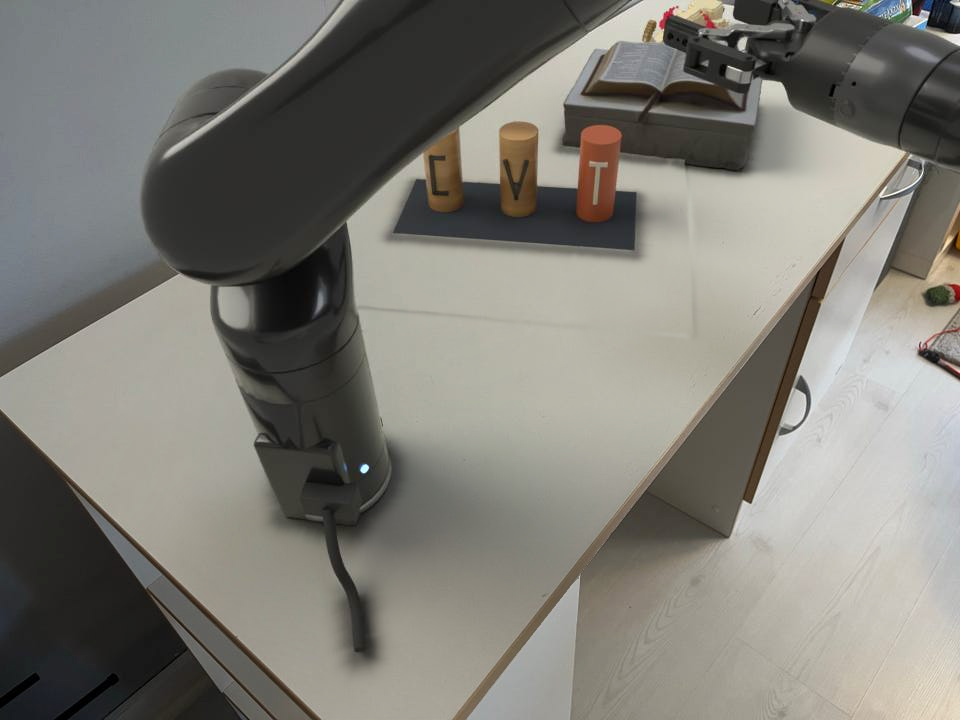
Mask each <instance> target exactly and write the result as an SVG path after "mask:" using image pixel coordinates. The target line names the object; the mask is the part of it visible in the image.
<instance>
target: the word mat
mask: <svg viewBox="0 0 960 720" xmlns="http://www.w3.org/2000/svg"><path fill="white" fill-rule="evenodd" d="M577 189H578V188H574V187H559V186H542V185H541V186H540V185H537V208H536V210H535V212H534V213H532V214H531V215H528V216H525V217H512V216H508V215H506V214H504V213H503V212H502V210H501V206H500V183H491V182H490V183H489V182H474V181H463V193H464V204H463V205H462V207H460V208H459V209H457V210H455V211H452V212H438V211H435V210H433V209H431V208H430V206H429V204H428V195H427V186H426V178H425V179H424V178H422V179H421V178H416V179H415V181H414V183H413V186H412V188H411V189H410V193H409V195H408V197H407V199H406V202H405V204H404V206H403V208H402V210H401V212H400V214H399V218H398V220H397V222H396V225H395V226H394V229H393V232H392V234H400V235H413V236H414V235H415V236H428V237H429V236H430V237H443V238H458V239H469V240H470V239H471V240H483V241H498V242H511V243H512V242H513V243H526V244H538V245H539V244H541V245H554V246H568V247H569V246H570V247H582V248H583V247H584V248H594V249H595V248H596V249H611V250H623V251H624V250H625V251H635V241H636V220H637V219H636V216H637V214H636V213H637V191H624V190H616V192H615V201H614V210H613V215H612V217H611V218H610V219H608V220H606V221H603V222H588V221H585V220H583V219H581V218H580V217H578V215H577V213H576V204H577Z"/></svg>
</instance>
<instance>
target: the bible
mask: <svg viewBox="0 0 960 720" xmlns="http://www.w3.org/2000/svg"><path fill="white" fill-rule="evenodd" d="M715 42H716V43H719V44H722V45H725V46H728V44H727V42H719V41H715ZM737 50H739V51H740V49H739V46H737ZM685 57H686V53H684V52H682V51H679V50H677V49H675V48H674V49H673V48H672V47H670V46H667V45H665V44H664V43H660V42H643V41H637V42H636V41H626V40H619V41H617V42H615V43H614V44H613V45H611V46H610V48H609V49H601V48H594V49H593V51H592V53H591V54H590V56H589V58H588V59H587V61H586V63H585V65H584V67H583V68H582V71H581V72H580V74H579V76H578V78H577V79H576V81H575V82H574V85H573V86H572V88H571V90H570V91H569V93H568V94H567V96H566V98H565V100H564V101H563V104H562V106H563V109H564V110H563V117H564V130H565V131H564V133H563V136H562V143H561V145H562V146H564V147H572V148H580V145H581V133H582V131H583V130H584V129H585V128H587V127H590V126H594V125H607V126H611V127H614V128H616V129H618V130H619V131H620V132H621V134H622V138H621V147H620V154H621V153H622V154H623V153H624V154H629V155H638V156H645V157H657V158H660V159H671V160H672V159H673V160H684V164H685V165H692V166H697V167H698V166H699V167H707V168H717V169H721V168H723V169H726V170H732V171H740V169H742V168H744V167H745V166H746V162H747V158H748V153H749V148H750V145H751V143H752V140H753V136H754V132H755V131H754V130H755V128H756V126H757V121H758V114H759V113H758V112H759V110H760V109H759V108H760V102H761V101H760V100H761V93H762V84H763V80H761V79H760V78H759V77H758V78H756V79H754V80H752V82H751V85H750V90H749V92H748V93H744V94H741V93H736V92H733V91H731V90H728V89H726V88H723V87H721V86H718V85H716V84H713V83H711V82H708V81H706V80H703V79H700V78H698V77H695V76H693V75H690V74H688V73H685V72H684V71H683V67H684V63H685ZM705 66H707V65H705ZM707 67H708V66H707Z"/></svg>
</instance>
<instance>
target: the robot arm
mask: <svg viewBox="0 0 960 720" xmlns="http://www.w3.org/2000/svg"><path fill="white" fill-rule="evenodd" d="M632 1H633V0H338V1H337V3H336V4H335V5H334V7H333V8H332V10H331V11H330V12H329V14H327V16H326V17H325V18H324V20H323V21H322V22H321V23H320V24H319V26H318V27H317V28H316V29H315V30H314V32H313V33H312V34H311V35H310V36H309V37H308V38H307V39H306V40H305V41H304V42H303V43H302V44H301V45H300V46H299V47H298V49H297V50H296V51H294V52H293V53H292V54H291V55H290V56H288V57H287V58H286V59H285V60H284V61H282V63H281V64H280V65H279V66H278V67H277V68H275V69H274V70H272V71H271V72H270V73H268V72H265V71H261V70H258V69H253V68H243V67H239V68H238V67H237V68H235V67H234V68H225V69H222V70H217V71H216V70H215V71H213V72H210V73H208V74H206V75H204V76H203V77H201V78H199V79H198V80H196V81H195V82H194V83H192V85H190V86H189V87H188V88H187V89H186V90H185V91H184V92H183V93H182V95H181V96H180V97H179V99H178V100H177V102H176V104H174V105H175V106H174V108H173V109H172V111H171V112H170V115H169V116H168V118H167V120H166V122H165V124H164V126H163V127H162V129H161V131H160V133H159V135H158V137H157V139H156V140H155V143H154V144H153V146H152V148H151V151H150V153H149V155H148V157H147V159H146V162H145V164H144V166H143V171H142V176H141V181H140V189H139V211H140V218H141V222H142V226H143V230H144V232H145V234H146V237H147V239H148V241H149V243H150V245H151V247H152V248H153V249H154V251H155V252H156V254H157V255H158V256H159V257H160V259H161V260H162V261H163V262H164V263H165V264H166V265H167V266H168V267H169V268H171V269H172V270H173V271H174V272H177V273H178V274H179V275H181V276H183V277H185V278H187V279H188V280H189V279H190V280H192V281H195V282H198V283H201V284H204V285H209V286H210V287H209V289H210V294H209V295H210V296H209V302H210V303H209V307H210V309H209V310H210V311H209V312H210V316H211V317H210V318H211V322H212V325H213V328H214V331H215V333H216V337H217V338H218V341H219V344H220V346H221V348H222V352H223V354H224V356H225V358H226V360H227V363H228V365H229V367H230V370H231V372H232V376H233V378H234V381H235V383H236V385H237V387H238V390H239V392H240V395H241V398H242V400H243V402H244V405H245V407H246V409H247V412H248V414H249V417H250V420H251V422H252V424H253V426H254V429H255V431H256V434H257V435H256V437H255V439H254V441H253V449H254V450H255V453H256V455H257V457H258V459H259V462H260V465H261V467H262V469H263V471H264V474H265V476H266V478H267V481H268V483H269V486H270V488H271V491H272V492H273V495H274V497H275V499H276V502H277V504H278V507H279V509H280V511H281V514H282V516H283V517H285V518H292V519H300V520H308V521H311V522H317V523H323V529H324V538H325V545H326V550H327V555H328V558H329V562H330V565H331V568H332V570H333V572H334V574H335V576H336V578H337V580H338V581H339V583H340V585H341V586H342V588H343V590H344V592H345V595H346V598H347V601H348V606H349V610H350V616H351V630H352V631H351V632H352V642H353V650H354V652H355V653H362V652H364V651H366V650H367V643H366V635H365V634H366V633H365V622H364V613H363V608H362V602H361V599H360V595H359V592H358V588H357V587H356V584H355V582H354V580H353V579H352V577H351V575H350V573H349V572H348V570H347V568H346V567H345V564H344V561H343V558H342V554H341V551H340V547H339V542H338V541H339V539H338V534H337V525H336V524H338V525H344V526H355V525H356V524H357V523H358V521H359V520H358V519H359V517H360V515H361V514H362V513H364V512H366V511H367V510H369V509H370V508H371V507H372V506H373V505H375V504H376V503H377V502H378V501H379V500H380V499H381V497H382V496H383V495H384V494H385V492H386V490H387V488H388V487H389V483H390V481H391V477H392V471H393V466H392V460H391V455H390V452H389V450H388V449H389V448H388V447H387V442H386V438H385V432H384V430H383V427H384V424H383V420H382V417H381V414H380V409H379V405H378V399H377V395H376V390H375V386H374V381H373V377H372V371H371V367H370V362H369V357H368V353H367V349H366V343H365V342H366V341H365V337H364V334H363V333H364V332H363V328H362V324H361V323H362V322H361V318H360V314H359V309H358V305H357V300H356V294H355V293H356V292H355V274H354V259H353V250H352V245H351V239H350V233H349V228H348V227H349V226H348V221H349V220H350V218H351V217H353V216H354V215H355V214H356V213H357V212H358V211H359V210H360V209H361V208H362V207H363V206H364V205H366V203H368V202H369V201H370V199H372V198H373V197H374V196H375V195H376V194H377V193H378V192H379V191H380V190H382V189H383V187H384V186H385V185H387V184H388V183H389V182H390V181H391V180H393V179H394V178H395V177H396V176H397V175H398V174H400V172H402V171H403V170H404V169H405V168H407V167H408V166H409V165H410V164H411V163H412V162H414V161H415V160H416V159H417V158H418V157H420V156H421V155H423V153H424V152H425V151H426V150H428V149H429V148H430V147H432V146H433V145H434V144H436V143H437V142H439V141H440V140H441V139H443V138H444V137H446V136H447V135H448V134H450V133H451V132H453V131H454V130H456V129H457V128H458V127H459V128H460V127H462V126H463V125H464V124H465V123H467V122H468V121H470V120H471V119H473V118H474V117H475V116H477V115H478V114H479V113H481V112H482V111H484V110H485V109H486V108H488V107H489V106H491V105H492V104H493V103H495V102H496V101H497V100H498V99H500V98H501V97H502V96H504V95H505V94H506V93H507V92H509V91H510V90H511V89H513V88H514V87H515V86H517V85H519V83H521V82H522V81H523V80H525V79H526V78H528V76H529V77H530V75H532V74H533V73H534V72H535V71H537V70H538V69H539V68H541V67H542V66H544V65H545V64H547V63H548V62H549V61H551V60H552V59H554V58H556V57H557V56H558V55H560V54H561V53H562V52H564V51H565V50H567V49H568V48H570V47H571V46H573V45H574V44H576V43H577V42H579V41H580V40H581V39H583V38H584V37H585V36H587V35H589V33H591V32H592V31H594V30H595V29H596V28H597V27H599V26H600V25H602V24H603V23H604V22H606V21H607V20H608V19H609V18H611V17H612V16H613V15H615V14H616V13H618V12H619V11H620V10H621V9H623V8H624V7H626V6H627V5H628V4H629V3H631V2H632ZM811 12H814V13H816V16H815V15H814V14H812V13H811ZM673 15H674V16H671V17H668V18H667V19H666V20H665V26H664V33H663V42H664V44H665V45H667V46H670V47H672V48H674V49H675V50H679V51H682V52H684V53H686V57H685V63H684V67H683V71H684V72H685V73H688V74H690V75H693V76H695V77H698V78H700V79H703V80H706V81H708V82H711V83H713V84H716V85H718V86H721V87H723V88H726V89H728V90H731V91H733V92H736V93H741V94H744V93H748V92H749V90H750V85H751V82H752V80H754V79H756V78H758V77H759V78H760V79H761V80H762V81H769V82H775V83H781V84H782V86H783V88H784V91H785V93H786V97H787V101H788V102H789V104H790V105H791V107H792V108H793V109H794V110H796V111H798V112H801V113H804V114H805V115H807V116H810V117H812V118H815V119H817V120H820V121H821V122H824V123H827V124H829V125H831V126H833V127H836V128H838V129H839V130H842V131H845V132H847V133H850V134H852V135H855V136H857V137H860V138H862V139H864V140H866V141H869V142H872V143H875V144H878V145H882V146H886V147H891V148H893V149H897V150H899V151H902V152H905V153H907V154H909V155H912V156H914V157H916V158H919V159H921V160H924V161H926V162H928V163H931V164H934V165H935V166H937V167H941V168H942V169H945V170H947V171H948V172H952V173H955V174H957V175H960V45H958V44H955V43H954V42H952V41H950V40H948V39H946V38H944V37H942V36H940V35H938V34H935V33H933V32H930V31H927V30H924V29H921V28H917V27H914V26H911V25H908V24H905V23H901V22H898V21H894V20H891V19H888V18H885V17H882V16H879V15H876V14H872V13H869V12H865V11H863V10H859V9H855V8H852V7H848V6H847V7H846V6H843V7H842V6H841V7H840V6H837V5H834V4H832V3H830V2H829V3H828V2H825V1H823V0H797V2H796V3H795V2H794V1H792V0H734V5H733V10H732V18H733V19H734V20H736V21H738V22H741V23H734V24H732V25H731V27H730V28H725V29H724V28H719V29H713V28H706V27H705V26H703V25H700V24H697V23H695V22H692V21H689V20H687V19H684V18H681V17H679V16H676V14H673ZM743 38H746V42H745V47H744V49H741V50H740V49H739V50H737V47H738V45H739V42H740V40H741V39H743ZM716 42H718V43H716ZM720 42H724V43H727V44H728V46H725V45H722V44H719V43H720ZM705 65H707V66H708V67H707V66H705Z"/></svg>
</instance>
